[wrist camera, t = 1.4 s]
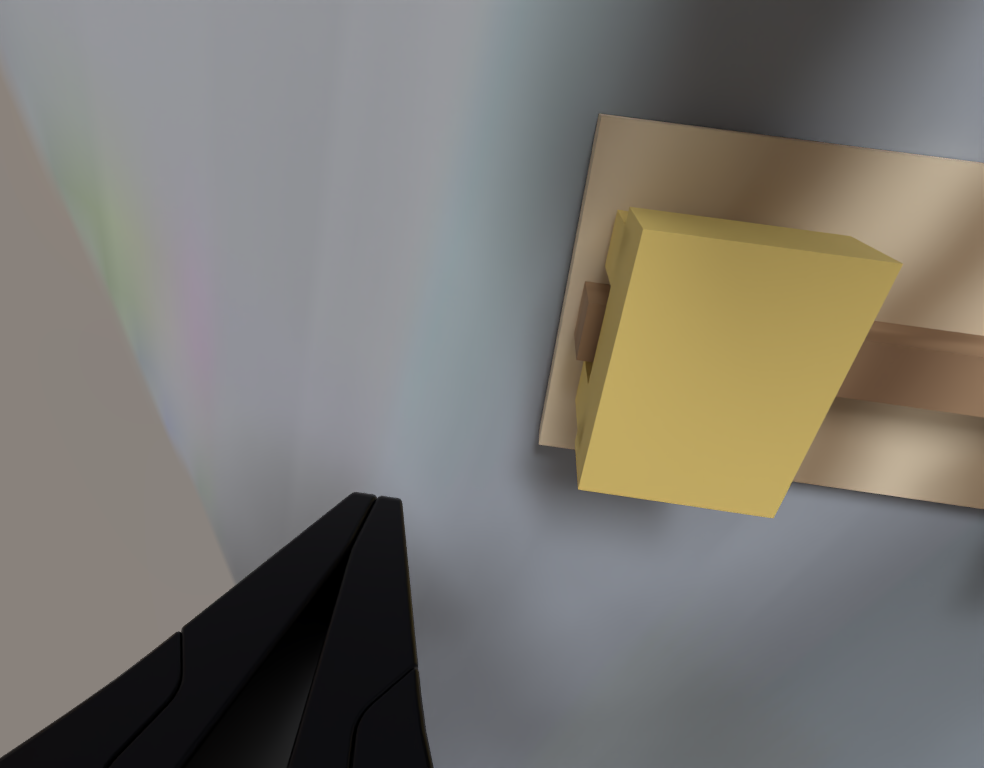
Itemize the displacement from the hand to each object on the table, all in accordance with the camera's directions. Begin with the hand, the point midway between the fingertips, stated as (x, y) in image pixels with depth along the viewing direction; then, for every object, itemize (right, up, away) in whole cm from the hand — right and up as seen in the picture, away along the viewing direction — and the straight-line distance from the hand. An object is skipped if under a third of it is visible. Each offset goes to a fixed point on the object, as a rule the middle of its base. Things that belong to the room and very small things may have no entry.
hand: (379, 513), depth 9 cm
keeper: (+8, +4, +9) cm, 13 cm away
